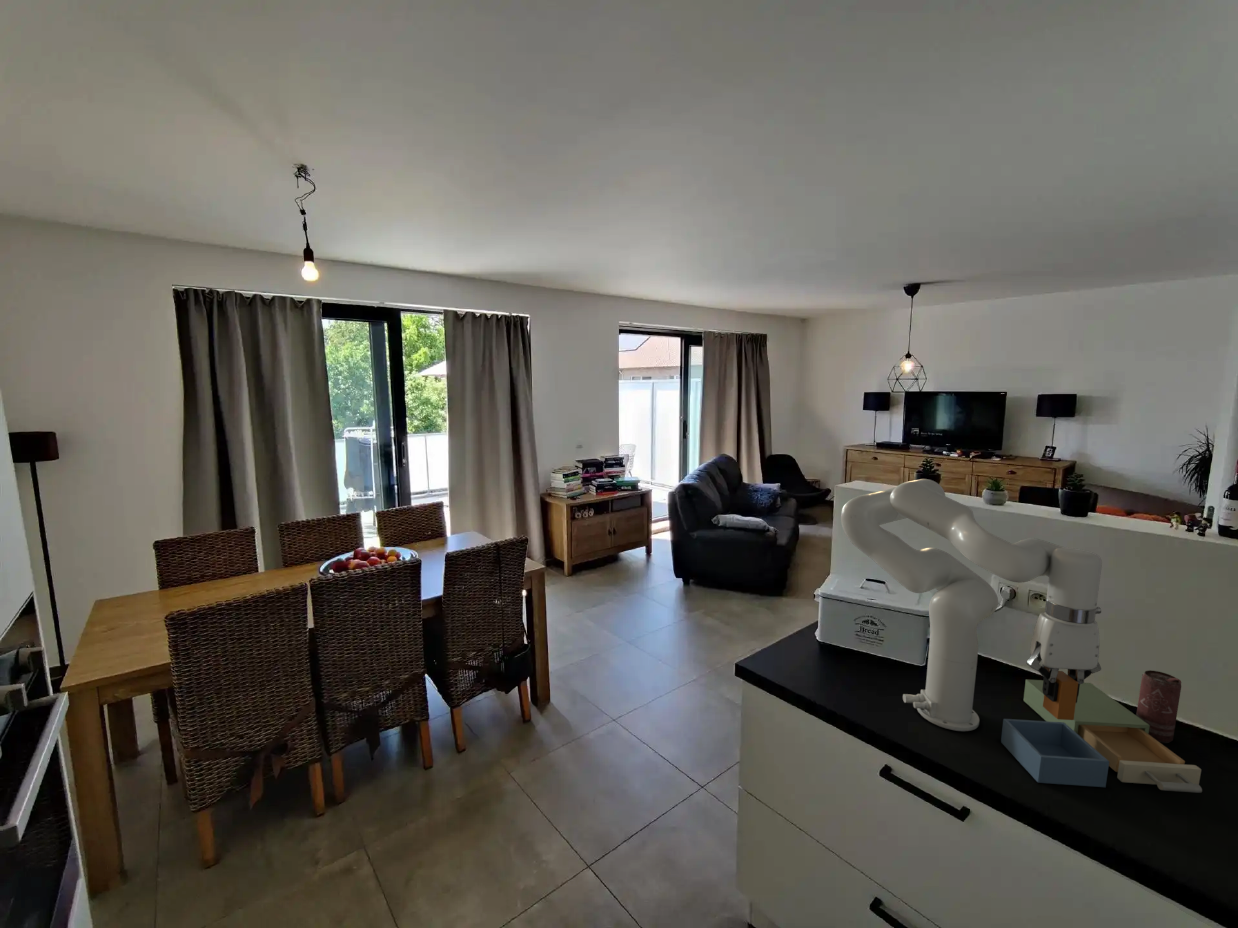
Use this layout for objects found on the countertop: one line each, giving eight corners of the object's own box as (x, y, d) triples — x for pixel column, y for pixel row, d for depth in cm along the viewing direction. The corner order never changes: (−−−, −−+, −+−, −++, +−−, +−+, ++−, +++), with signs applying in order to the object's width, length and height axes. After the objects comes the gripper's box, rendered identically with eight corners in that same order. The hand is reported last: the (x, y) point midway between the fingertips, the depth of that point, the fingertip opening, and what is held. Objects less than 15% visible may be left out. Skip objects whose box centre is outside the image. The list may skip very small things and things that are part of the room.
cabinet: (1146, 749, 115) (1149, 725, 114) (1072, 744, 116) (1075, 720, 115) (1087, 704, 131) (1090, 682, 130) (1023, 700, 133) (1025, 679, 132)
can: (1181, 745, 116) (1191, 685, 114) (1147, 742, 117) (1156, 682, 115) (1160, 728, 122) (1169, 670, 120) (1127, 725, 123) (1135, 667, 121)
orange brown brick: (1057, 719, 107) (1061, 681, 106) (1042, 706, 111) (1046, 670, 110) (1073, 720, 106) (1078, 682, 105) (1058, 707, 111) (1062, 670, 110)
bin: (1037, 782, 105) (1041, 756, 104) (1000, 741, 117) (1003, 718, 116) (1105, 787, 104) (1109, 761, 103) (1061, 745, 116) (1064, 722, 115)
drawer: (1221, 804, 98) (1224, 785, 98) (1140, 798, 100) (1143, 780, 99) (1130, 735, 118) (1133, 719, 117) (1064, 731, 119) (1066, 715, 119)
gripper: (1100, 605, 109) (1089, 690, 111) (1013, 602, 110) (1004, 686, 113) (1131, 621, 101) (1118, 711, 104) (1037, 617, 103) (1028, 706, 105)
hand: (1059, 697), depth 108 cm, fingers closed on orange brown brick, 3 cm apart
